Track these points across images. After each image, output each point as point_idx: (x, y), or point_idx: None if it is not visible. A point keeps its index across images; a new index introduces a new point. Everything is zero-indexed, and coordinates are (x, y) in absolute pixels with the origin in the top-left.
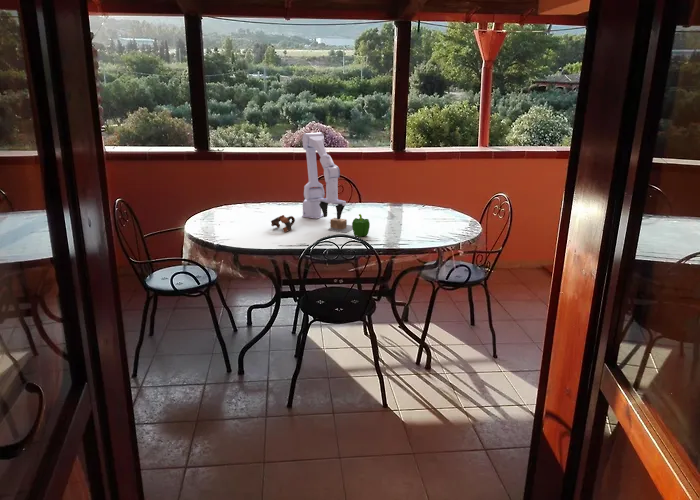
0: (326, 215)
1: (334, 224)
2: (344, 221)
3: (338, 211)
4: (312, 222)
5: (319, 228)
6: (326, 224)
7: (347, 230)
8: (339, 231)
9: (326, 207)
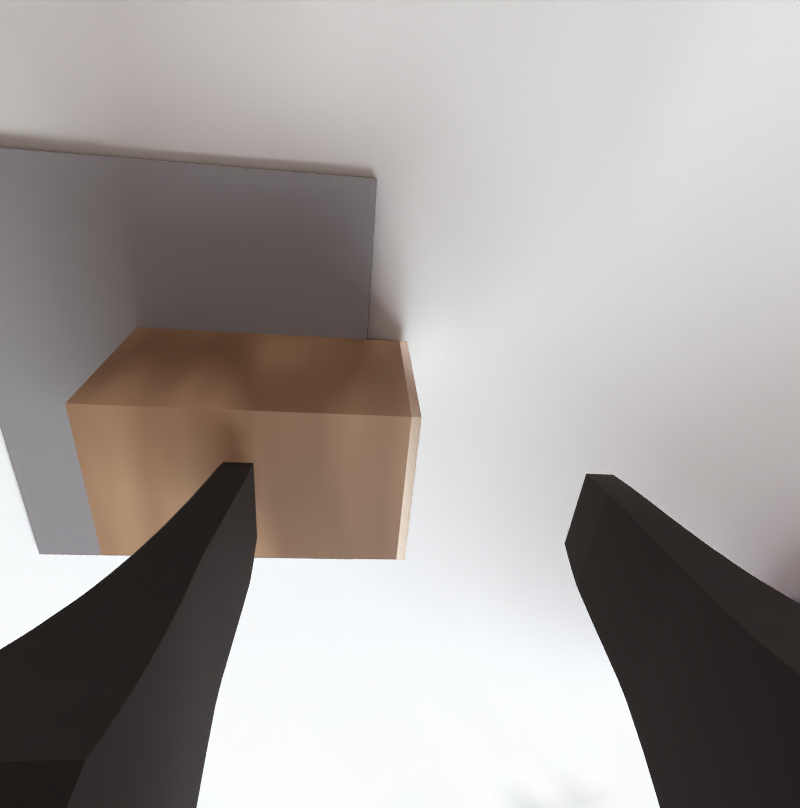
0: (579, 543)
1: (314, 365)
2: (93, 465)
3: (101, 602)
4: (784, 466)
5: (586, 212)
6: (541, 467)
7: (7, 296)
8: (91, 156)
9: (672, 741)
